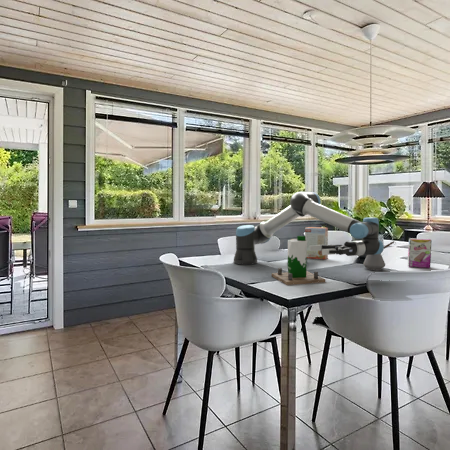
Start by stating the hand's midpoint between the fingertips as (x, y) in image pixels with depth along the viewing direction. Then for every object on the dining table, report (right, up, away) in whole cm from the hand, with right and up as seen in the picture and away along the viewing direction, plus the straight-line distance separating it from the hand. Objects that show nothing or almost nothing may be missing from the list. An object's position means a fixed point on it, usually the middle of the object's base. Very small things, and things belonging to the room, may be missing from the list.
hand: (315, 250), depth 179 cm
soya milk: (-10, -13, -1) cm, 16 cm away
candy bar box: (+66, -12, +26) cm, 72 cm away
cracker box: (+16, -10, +60) cm, 63 cm away
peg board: (-9, -14, -1) cm, 17 cm away
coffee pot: (+43, -12, +24) cm, 51 cm away
